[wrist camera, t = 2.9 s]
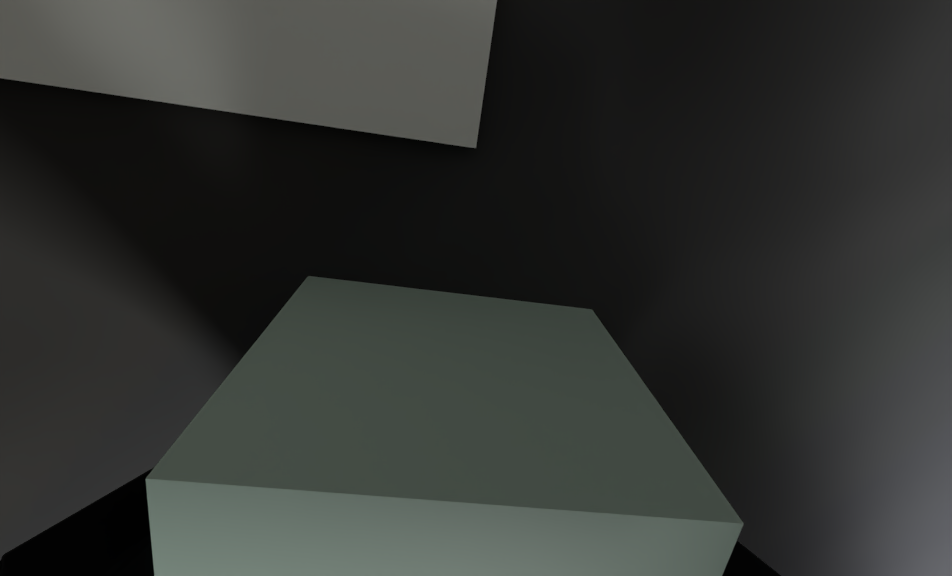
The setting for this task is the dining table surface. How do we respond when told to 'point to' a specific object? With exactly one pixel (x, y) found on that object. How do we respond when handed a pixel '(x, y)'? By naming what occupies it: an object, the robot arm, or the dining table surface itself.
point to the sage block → (434, 450)
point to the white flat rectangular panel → (268, 58)
